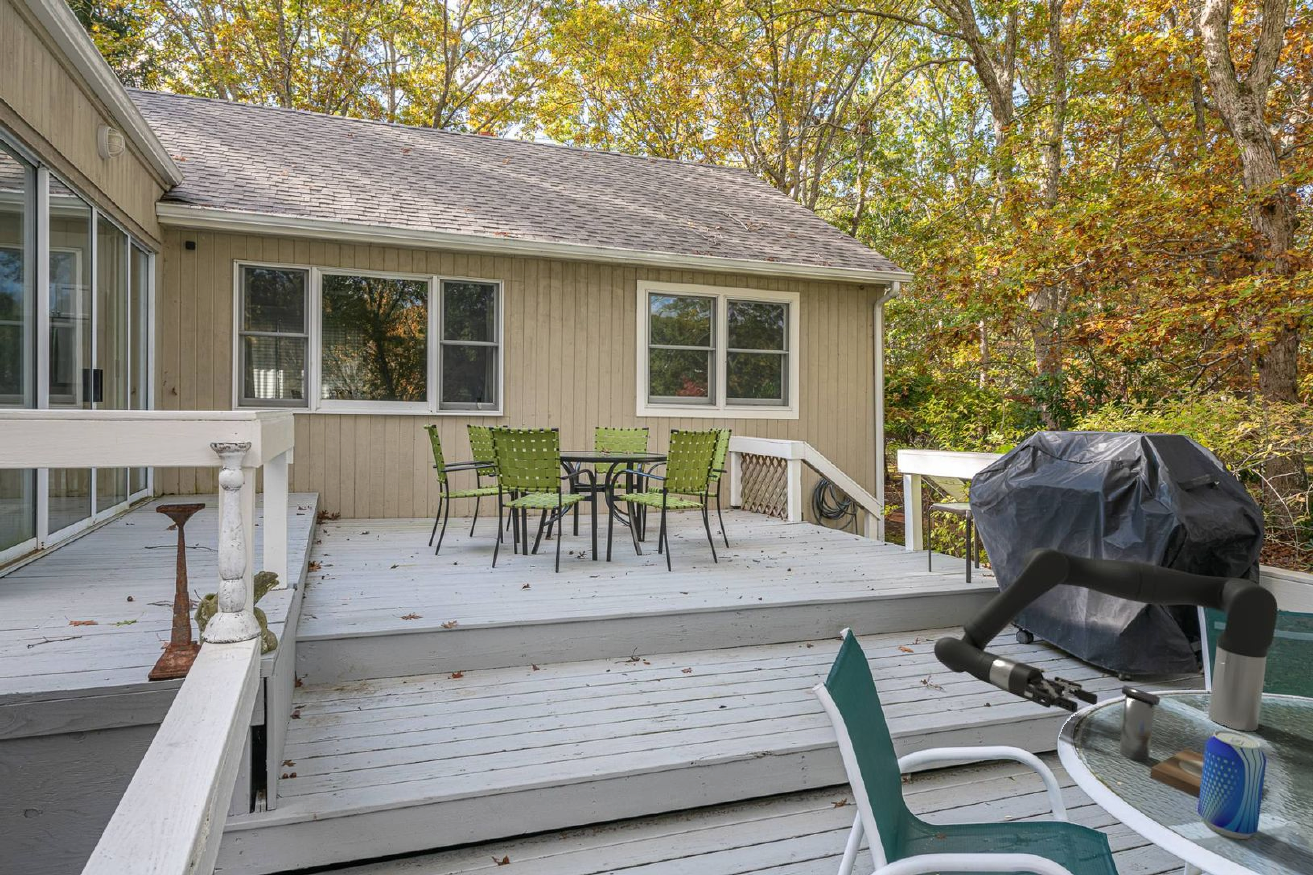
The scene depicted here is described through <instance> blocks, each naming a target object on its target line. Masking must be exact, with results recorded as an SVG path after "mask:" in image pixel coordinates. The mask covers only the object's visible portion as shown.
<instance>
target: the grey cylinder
mask: <svg viewBox="0 0 1313 875" xmlns="http://www.w3.org/2000/svg"><path fill="white" fill-rule="evenodd" d="M1121 693H1122V694H1123V695H1125V697H1124V704H1123V705H1124V707H1123V712H1122V713H1123V714H1122V715H1123V716H1122V722H1121V723H1122V725H1121V733H1120V741H1119V743H1120V744H1119V751H1118V752H1119V754H1120V755H1121V756H1122V757H1123V758H1126V759H1128V760H1130V761H1133V762H1138V763H1139V762H1140V763H1146V762H1149V760H1150V751H1151V744H1152V743H1151V742H1152V733H1153V725H1154V724H1153V723H1154V716H1155V708H1156V706H1158V705H1159V703H1160V700H1161V698H1160V696H1158V695H1155V694H1151V693H1149V692H1146V691H1143V690H1140V689H1137V688H1133V687H1130V686H1128V685H1125V684H1124V685H1123V686H1122V689H1121Z"/></svg>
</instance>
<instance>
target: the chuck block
mask: <svg viewBox="0 0 1313 875" xmlns="http://www.w3.org/2000/svg"><path fill="white" fill-rule="evenodd" d="M1203 762H1204V754H1202V753H1199V752H1196V751H1194V750H1191V749H1188V748H1185V749H1183V750H1181V751H1179V752H1177V753H1175V754H1174V755H1173V756H1170V757H1169V758H1166V759H1165V760H1163V761H1160V762H1159V763H1157V764H1155V765H1154V766H1152V767H1150V776H1149V778H1151V779H1153V780H1156V781H1158V782H1161V783H1163V784H1165V785H1167V786H1170V787H1171V788H1172V787H1173V788H1174V789H1177V790H1180V791H1182V792H1184V793H1187V794H1189V795H1191V796H1194V797H1196V798H1198V799H1199V796H1200V787H1201V779H1202V771H1203Z"/></svg>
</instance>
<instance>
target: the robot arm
mask: <svg viewBox="0 0 1313 875" xmlns="http://www.w3.org/2000/svg"><path fill="white" fill-rule="evenodd" d="M1058 585H1063V586H1071V587H1073V586H1074V587H1078V588H1079V587H1080V588H1085V589H1089V590H1093V591H1096V592H1097V593H1101V594H1104V595H1108V596H1112V597H1115V598H1118V599H1122V600H1127V601H1132V602H1137V603H1142V604H1148V605H1156V606H1177V605H1191V606H1197V607H1201V608H1202V607H1203V608H1207V609H1211V610H1215V611H1218V612H1222V613H1225V614H1227V616H1226V621H1225V627H1224V631H1223V632H1222V631H1221V632H1220V633H1219V634H1218V636H1217V642H1216V651H1215V659H1214V660H1215V661H1214V668H1213V675H1212V676H1213V677H1212V684H1211V692H1210V699H1209V707H1208V708H1209V709H1208V718H1209V717H1210V718H1211V719H1210V718H1209V719H1210V720H1211V721H1212V722H1214V721H1215V722H1214V723H1216V722H1217V723H1216V724H1218V723H1219V724H1218V725H1221V726H1223V725H1225V726H1224V727H1226V726H1227V728H1230V729H1234V730H1238V731H1243V730H1244V732H1255V731H1257V730H1258V728H1259V721H1260V713H1261V706H1262V705H1261V704H1262V697H1263V691H1264V690H1263V689H1264V680H1265V673H1266V664H1267V656H1268V650H1269V648H1270V647H1271V645H1272V644H1273V641H1274V635H1275V630H1276V624H1277V618H1278V603H1277V599H1276V597H1275V595H1274V594H1273V593H1272V592H1271V591H1270V590H1268V589H1267V588H1266V587H1264V586H1261V585H1260V584H1258V583H1256V582H1254V581H1252V580H1249V579H1246V578H1245V579H1244V578H1240V577H1239V578H1238V577H1221V576H1209V575H1199V574H1193V573H1189V572H1185V571H1182V570H1178V569H1173V568H1168V567H1163V566H1159V565H1154V564H1153V565H1152V564H1150V563H1149V564H1147V563H1141V562H1135V561H1127V560H1116V559H1104V558H1103V559H1102V558H1090V557H1083V556H1078V555H1074V554H1070V553H1066V552H1062V551H1059V550H1056V549H1053V548H1050V547H1044V546H1041V547H1036V548H1034V549H1032V550H1030V551H1028V553H1026V555H1025V556H1024V558H1023V570H1022V571H1021V573H1020V574H1019V575H1018V577H1016V578H1015V580H1014V581H1013V582H1012V583H1011V584H1009V586H1008V587H1006V588H1005V589H1004V590H1002V591H1001V592H1000V593H998V594H997V595H995V596H994V597H993V598H991V599H990V600H989V601H987V602H986V603H985V604H984V605H982V606H981V607H980V608H978V610H977V611H976V612H975V613H974V614H972V616H970V618H969V619H968V620H967V621H966V622H964V624H963V626H962V629H963V632H964V635H963V636H962V638H961V639H959V638H955V637H951V636H945V637H941V638H939V639H938V640H937V641H936V642H935V644H934V648H933V651H934V656H935V658H936V659H937V660H938V662H940V663H941V664H942V665H944V666H945V667H946V668H948V669H949V670H950V671H952V672H954V673H956V674H957V673H958V674H962V673H968V674H969V675H971V676H972V677H974V678H976V679H977V680H979V681H982V682H983V683H987V684H989V685H992V686H993V687H996V688H998V689H1000V690H1001V691H1004V692H1007V693H1009V694H1012V695H1015V696H1017V697H1020V698H1022V699H1024V700H1027V701H1031V702H1033V703H1035V704H1037V705H1040V706H1042V707H1044V708H1048V709H1049V708H1050V709H1051V707H1053V708H1061V709H1063V710H1066V711H1068V712H1071V713H1077V712H1078V705H1079V704H1078V702H1076V701H1074V700H1071V699H1076V700H1080V701H1082V702H1084V703H1087V704H1090V705H1093V706H1094V705H1097V703H1098V698H1099V697H1098V695H1097V694H1096V693H1093V692H1090V691H1087V690H1084V689H1082V688H1083V685H1082V684H1080V683H1076V682H1073V681H1070V680H1068V679H1065V678H1063V677H1059V676H1054V678H1053V679H1052V678H1045V677H1044V675H1043V673H1042V671H1041V670H1040V669H1039V668H1037V667H1035V666H1032V665H1029V664H1026V663H1023V662H1020V661H1018V660H1015V659H1012V658H1008V657H1003V656H1000V655H998V654H994V653H992V652H988V651H985V650H986V647H987V646H988V644H989V643H990V642H991V641H993V640H994V639H995V638H997V636H998V635H1000V633H1002V632H1003V630H1004V629H1005V628H1007V627H1008V625H1009V624H1010V623H1011V622H1012V621H1013V620H1015V618H1017V617H1018V616H1019V615H1020V614H1021V613H1022V612H1023V611H1025V609H1026V608H1027V607H1029V606H1031V604H1032V603H1033V602H1035V601H1036V600H1037V599H1039V598H1041V597H1042V596H1043V595H1044V594H1046V593H1048V592H1049V591H1051V590H1052V589H1053V588H1055V587H1056V586H1058ZM1069 698H1071V699H1069ZM1256 729H1257V730H1256ZM1254 730H1255V731H1254Z"/></svg>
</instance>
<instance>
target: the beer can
mask: <svg viewBox="0 0 1313 875" xmlns="http://www.w3.org/2000/svg"><path fill="white" fill-rule="evenodd" d="M1203 755H1204V762H1203V771H1202V779H1201V787H1200V796H1199V798H1198V805H1197V813H1198V815H1199V817H1200V818H1201V821H1202V822H1203V824H1204V825H1205V826H1207V828H1209V829H1210V828H1211V829H1210V830H1211V831H1212V830H1213V831H1214V832H1216V833H1217V834H1221V835H1222V836H1225V837H1228V838H1234V839H1238V840H1239V839H1240V840H1245V839H1250V838H1251V837H1252V836H1253V835H1254V834H1256V833H1257V832H1258V830H1259V829H1258V828H1259V824H1260V823H1259V822H1260V821H1259V820H1260V814H1261V807H1262V806H1261V805H1262V796H1263V791H1264V782H1265V774H1266V773H1265V772H1266V767H1267V757H1266V756H1265V754H1264V751H1263V750H1262V744H1261V743H1260V741H1258V740H1257V739H1255V738H1254V737H1251V736H1249V735H1246V734H1244V733H1240V732H1238V731H1232V730H1226V729H1217V730H1215V731H1214V732H1213V735H1212V736H1211V737H1210V738H1209V739H1208V740H1207V741H1206V742H1205V746H1204V754H1203Z"/></svg>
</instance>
